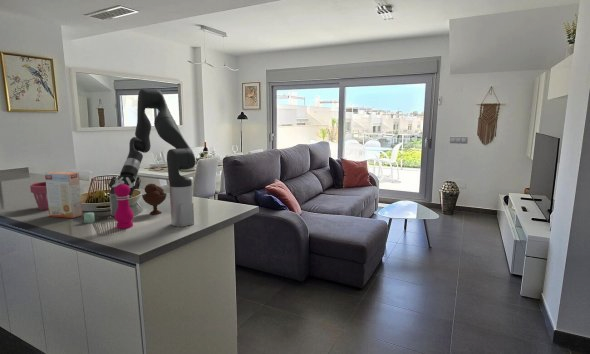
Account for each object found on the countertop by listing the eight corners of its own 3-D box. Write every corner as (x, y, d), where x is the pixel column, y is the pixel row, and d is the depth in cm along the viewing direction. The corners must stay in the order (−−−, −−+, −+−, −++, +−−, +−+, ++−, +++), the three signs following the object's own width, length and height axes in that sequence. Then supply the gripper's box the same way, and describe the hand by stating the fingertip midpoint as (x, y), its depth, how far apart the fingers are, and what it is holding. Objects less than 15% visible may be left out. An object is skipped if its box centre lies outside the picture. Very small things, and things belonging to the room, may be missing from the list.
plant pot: (62, 209, 173) (59, 185, 171) (28, 212, 167) (25, 186, 165) (69, 203, 186) (66, 180, 184) (38, 205, 181) (35, 181, 179)
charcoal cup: (128, 212, 168) (127, 192, 167) (121, 216, 162) (120, 195, 160) (116, 212, 168) (114, 192, 167) (108, 216, 162) (106, 195, 161)
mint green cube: (96, 222, 152) (95, 213, 152) (86, 224, 149) (85, 215, 149) (93, 220, 155) (92, 211, 154) (83, 222, 152) (82, 213, 151)
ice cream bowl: (159, 217, 161) (157, 185, 159) (138, 215, 163) (136, 184, 161) (171, 211, 171) (170, 182, 169) (151, 210, 174) (150, 181, 171)
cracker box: (83, 215, 163) (79, 172, 159) (72, 218, 157) (67, 174, 154) (60, 213, 166) (56, 170, 163) (48, 216, 161) (44, 172, 157)
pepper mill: (129, 223, 151) (126, 178, 148) (137, 226, 147) (134, 180, 144) (112, 226, 146) (108, 180, 143) (120, 230, 141) (116, 182, 138)
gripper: (113, 164, 173) (102, 190, 164) (141, 164, 173) (131, 191, 163) (120, 173, 179) (109, 199, 170) (146, 173, 179) (137, 199, 169)
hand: (120, 195), depth 166 cm, fingers open, 8 cm apart
